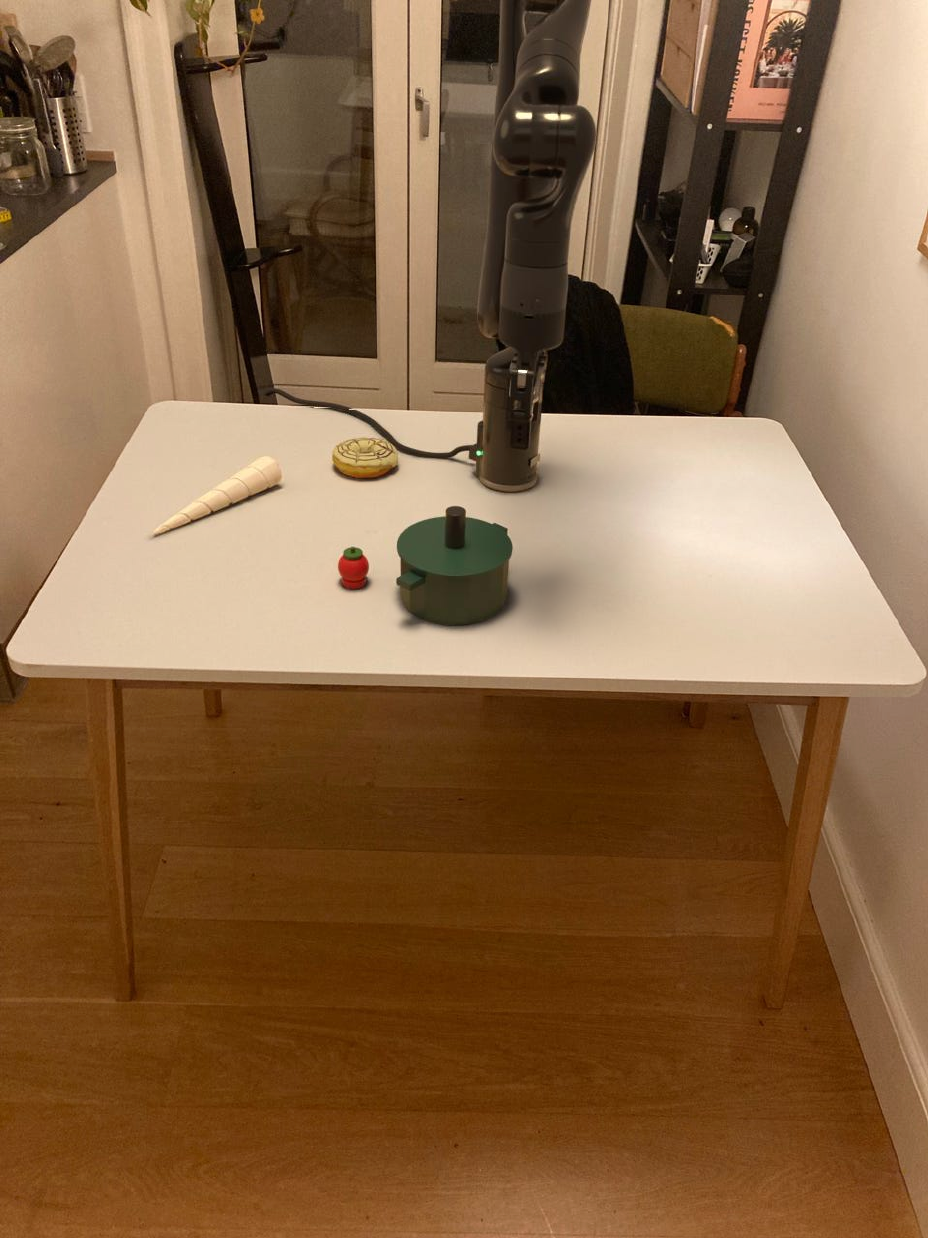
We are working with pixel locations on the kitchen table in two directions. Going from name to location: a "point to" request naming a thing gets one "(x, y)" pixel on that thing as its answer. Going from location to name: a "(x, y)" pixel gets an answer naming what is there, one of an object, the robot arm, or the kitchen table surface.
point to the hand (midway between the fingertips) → (524, 433)
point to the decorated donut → (365, 457)
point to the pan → (453, 595)
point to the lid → (454, 546)
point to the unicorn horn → (229, 492)
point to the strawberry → (353, 568)
